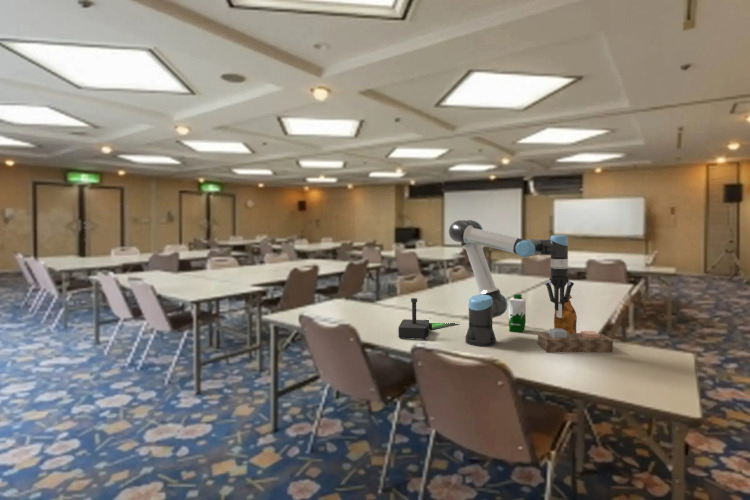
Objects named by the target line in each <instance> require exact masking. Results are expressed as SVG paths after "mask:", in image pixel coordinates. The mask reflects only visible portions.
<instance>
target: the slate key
mask: <svg viewBox="0 0 750 500" xmlns="http://www.w3.org/2000/svg"><path fill="white" fill-rule="evenodd" d="M548 333H549V335H550V336H551V337H553V338H567V331H565V330H564V329H562V328H554V327H553V328H552V327H551V328H549V332H548Z"/></svg>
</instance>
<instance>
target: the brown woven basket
mask: <svg viewBox="0 0 750 500" xmlns="http://www.w3.org/2000/svg"><path fill="white" fill-rule="evenodd" d="M597 333H598V334H600V338H585V337H583V336H582V335H581V332H576V333H567V338H553V337H551V336H550V335H549V332H538V333H537V346H538V345H539V347H540V348H541V349H542V350H543V351H545V353H613V352H614V350H613V349H614V339H612V338H611V337H609V336H607V335H605V334H603V333H601V332H597Z"/></svg>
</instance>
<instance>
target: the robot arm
mask: <svg viewBox="0 0 750 500" xmlns="http://www.w3.org/2000/svg"><path fill="white" fill-rule="evenodd" d="M448 235H449V237H450V238H451V239H452V240H453V241H454V242H457V243H460V244H461V245H460V246H461V248H462V249H464V250H465V251H466V253H467V257H468V261H469V263H470V267H471V269H472V272H473V274H474V278H475V279H474V280H475V281H476V284H477V285H476V286H477V288H478V291H479V292H478V294H475V295H472V296H470V297H469V299H468V328H467V332H466V334H465V336H464V337H465V338H464V339H465V340H464V341H465V343H466V344H469V345H471V346H475V347H476V346H478V347H490V346H494V345H495V344H497V338H496V334H495V331H494V328H493V319H495V318H498V317H500V316H502V315H503V314H504V313H506V311H507V310H508V306H509V303H508V300H507V297H506V296H504V295H503V294H502V293H501V289H499V288H497V286H496V285H495V282H494V279H493V275H492V273H491V269H490V267H489V265H488V261H487V258H486V255H485V251H484V248H483V247H482V246H484V247H487V248H491V249H495V250H500V251H504V252H508V253H511V254H515V255H518V256H519V257H522V258H523V257H524V258H529V257H532V256H533V257H534V256H550V278H549V280H548V281H547V282H544V285H545V286H546V289H547V293H548V296H549V297H548V298H549V300H550V302H551V303H554V311H555V310H557V317H558V318H562V310H564V304H565V303H566V302H568V300H570V299H569V296H570V295H571V291H572V287H573V286H574V284H575V283H574V282H572V281H570V279H569V269H568V267H569V239H568V236H567V235H563V234H558V235H557V234H553V235H551V236H550V239H543V238H542V239H537V238H536V239H534V238H532V239H524V238H519V237H515V236H511V235H507V234H502V233H497V232H493V231H488V230H484V229H483V226H482V225H481V224H480V223H479V222H478V221H476V220H472V219H467V220H464V219H463V220H456V221H454V222H453V223H451V225H450V226H449V229H448ZM552 286H553V289H552ZM559 301H560V303H559Z"/></svg>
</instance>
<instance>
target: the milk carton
mask: <svg viewBox="0 0 750 500" xmlns="http://www.w3.org/2000/svg"><path fill="white" fill-rule="evenodd" d="M526 301H527V300H526V298H523V296H522V294H521V293H520V294H519V293H517V294H514V295H513V297H510V298H509V300H508V329H509V332H511V333H519V334H520V333H523V332H524V331H525V329H526V321H527V319H526V317H527V313H526V312H527V308H526Z"/></svg>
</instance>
